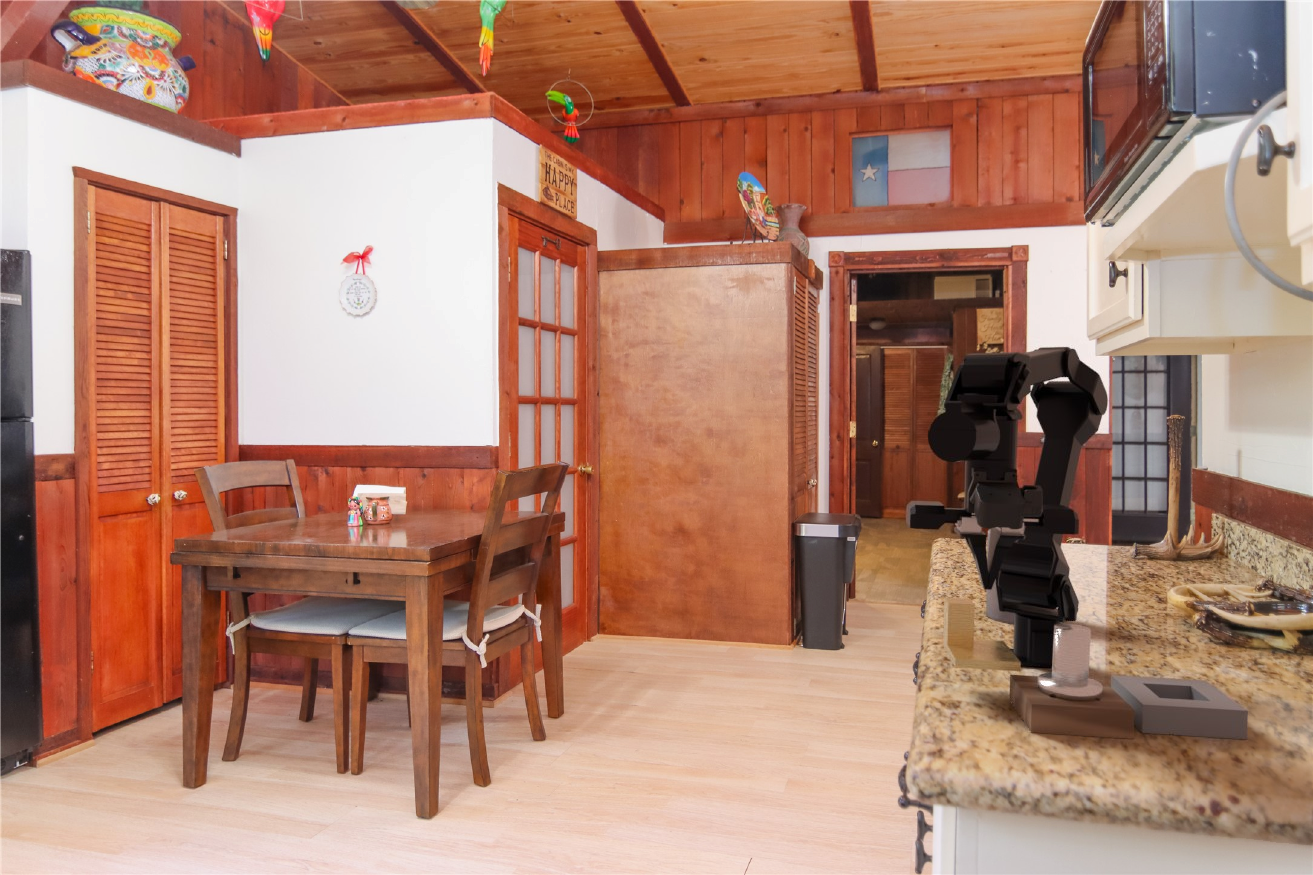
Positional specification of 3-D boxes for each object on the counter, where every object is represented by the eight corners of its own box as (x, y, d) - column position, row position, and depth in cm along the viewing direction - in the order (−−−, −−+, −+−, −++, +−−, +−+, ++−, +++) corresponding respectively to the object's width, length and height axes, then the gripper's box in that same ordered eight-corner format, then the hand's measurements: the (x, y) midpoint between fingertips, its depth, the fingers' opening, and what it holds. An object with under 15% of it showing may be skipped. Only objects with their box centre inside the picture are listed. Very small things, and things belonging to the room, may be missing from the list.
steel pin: (1029, 705, 102) (1033, 618, 102) (1089, 709, 101) (1093, 621, 101) (1045, 727, 96) (1049, 634, 95) (1109, 731, 95) (1114, 637, 94)
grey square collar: (1110, 700, 104) (1111, 674, 104) (1204, 706, 103) (1205, 680, 103) (1142, 732, 95) (1143, 704, 94) (1246, 739, 93) (1247, 710, 93)
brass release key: (943, 645, 111) (944, 597, 111) (1003, 649, 110) (1004, 600, 110) (955, 667, 102) (956, 614, 102) (1020, 671, 101) (1022, 618, 101)
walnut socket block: (1009, 700, 104) (1010, 674, 104) (1102, 705, 103) (1102, 679, 103) (1030, 732, 94) (1031, 703, 94) (1133, 738, 93) (1134, 710, 93)
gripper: (916, 461, 101) (913, 599, 102) (1095, 465, 98) (1090, 608, 99) (907, 455, 112) (904, 580, 113) (1067, 458, 109) (1063, 587, 110)
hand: (987, 589), depth 108 cm, fingers closed
